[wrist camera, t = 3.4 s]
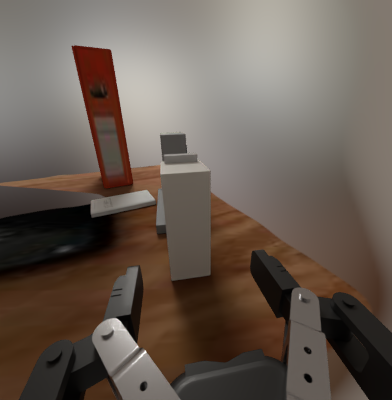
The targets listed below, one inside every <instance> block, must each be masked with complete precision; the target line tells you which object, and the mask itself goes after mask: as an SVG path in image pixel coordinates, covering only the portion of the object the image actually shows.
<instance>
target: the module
mask: <svg viewBox="0 0 392 400" xmlns="http://www.w3.org/2000/svg"><path fill="white" fill-rule="evenodd" d="M160 175H161V185H162V194H163V204H164V213H165V223H166V233H167V242H168V252H169V262H170V271H171V281H175V280H181V279H188V278H195V277H202V276H208V275H211V200H210V170H209V169H208V168H207V167H206V166H205V165H204V164H203V163H202V162H201V161H200V160H198V159H197V154H196V153H184V154H166V155H164V161H163V162H161V173H160Z"/></svg>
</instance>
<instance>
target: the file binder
mask: <svg viewBox="0 0 392 400" xmlns="http://www.w3.org/2000/svg"><path fill="white" fill-rule="evenodd" d="M72 50H73V54H74V59H75V63H76V67H77V72H78V76H79V81H80V85H81V89H82V93H83V98H84V102H85V107H86V111H87V115H88V120H89V124H90V129H91V133H92V137H93V142H94V146H95V150H96V154H97V159H98V163H99V168H100V172H101V176H102V181H103V185H104V188H112V187H118V186H124V185H131V184H133V179H132V173H131V167H130V161H129V155H128V149H127V143H126V138H125V131H124V125H123V119H122V113H121V107H120V101H119V95H118V89H117V83H116V77H115V71H114V65H113V59H112V53H111V50H110V49H102V48H93V47H84V46H72Z"/></svg>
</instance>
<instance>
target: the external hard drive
mask: <svg viewBox="0 0 392 400" xmlns="http://www.w3.org/2000/svg"><path fill="white" fill-rule="evenodd" d="M155 204H156V201H155V199H154V198H153V197H152V195H151V194H150V193H149V192H148V191H147V190H144V191H138V192H133V193H127V194H122V195H116V196H111V197H106V198H100V199H94V200H91V217H92V218H94V217H98V216H103V215H108V214H113V213H117V212H122V211H127V210H132V209H136V208H141V207H146V206H151V205H155Z"/></svg>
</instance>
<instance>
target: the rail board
mask: <svg viewBox="0 0 392 400" xmlns="http://www.w3.org/2000/svg"><path fill="white" fill-rule="evenodd" d="M160 138H161V149H162V158H163V161H164V155H166V154H184V153H187V147H186V138H185V134H184V133H181V132H175V133H174V132H173V133H161V134H160ZM156 228H157V234H161V233H166V223H165V213H164V204H163V194H162V189H158V204H157V220H156Z"/></svg>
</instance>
